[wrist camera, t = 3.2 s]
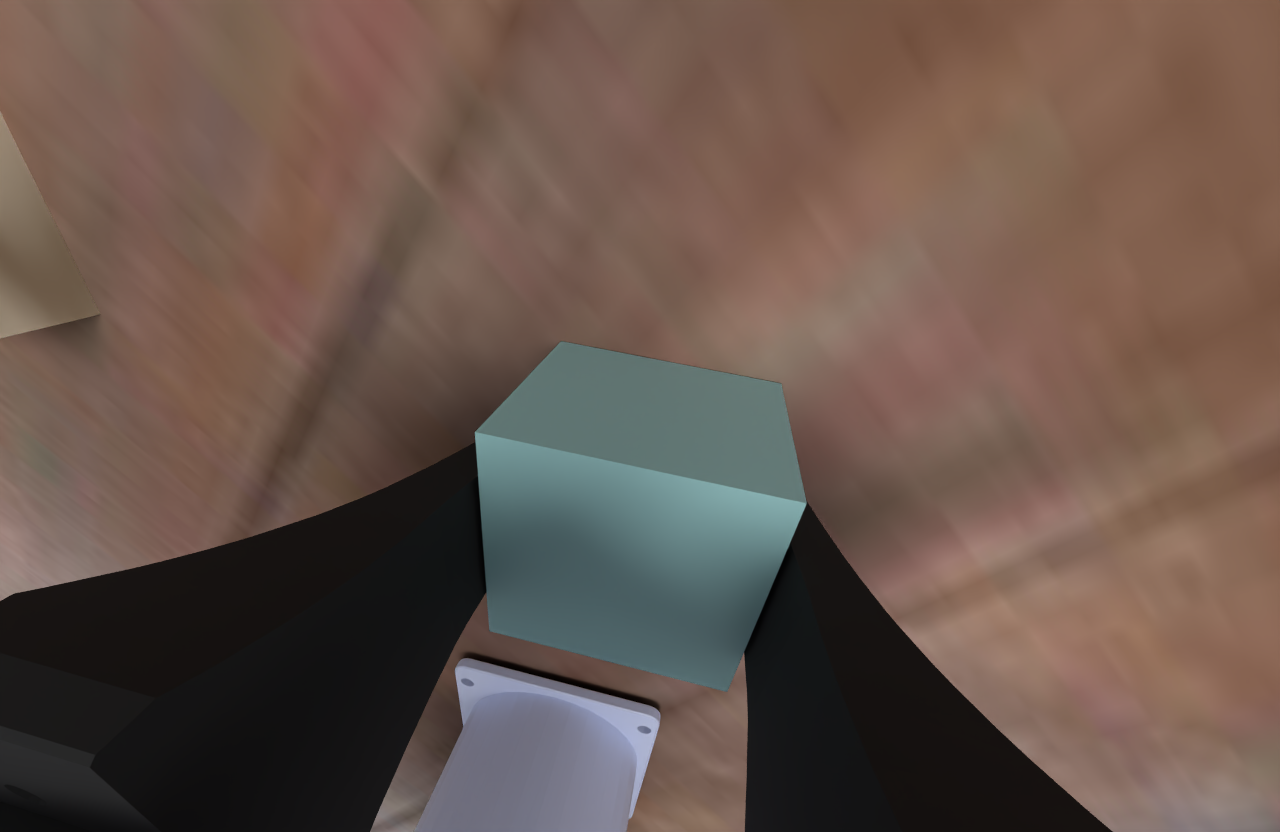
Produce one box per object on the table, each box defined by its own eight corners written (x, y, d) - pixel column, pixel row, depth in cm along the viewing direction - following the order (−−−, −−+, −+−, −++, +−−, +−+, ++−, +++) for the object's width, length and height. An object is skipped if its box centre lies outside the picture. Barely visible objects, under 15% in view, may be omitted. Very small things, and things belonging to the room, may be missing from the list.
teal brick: (728, 544, 12) (727, 692, 9) (554, 505, 13) (489, 631, 9) (781, 383, 10) (806, 503, 6) (561, 341, 10) (474, 432, 7)
